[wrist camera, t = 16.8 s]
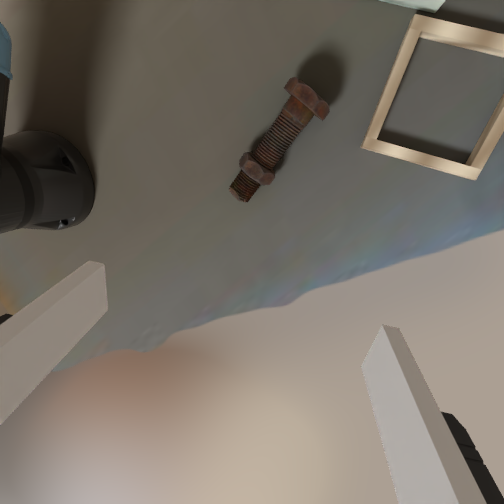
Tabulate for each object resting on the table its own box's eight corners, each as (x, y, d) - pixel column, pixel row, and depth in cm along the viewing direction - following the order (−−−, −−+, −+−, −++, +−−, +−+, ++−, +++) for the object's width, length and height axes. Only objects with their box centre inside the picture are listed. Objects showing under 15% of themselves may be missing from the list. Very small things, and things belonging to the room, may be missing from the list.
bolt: (241, 188, 41) (309, 93, 35) (260, 211, 39) (336, 113, 33) (212, 180, 37) (285, 68, 30) (233, 205, 35) (316, 90, 28)
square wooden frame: (360, 147, 35) (361, 147, 33) (410, 20, 30) (415, 13, 28) (469, 179, 33) (475, 180, 32) (541, 50, 28) (552, 45, 27)
